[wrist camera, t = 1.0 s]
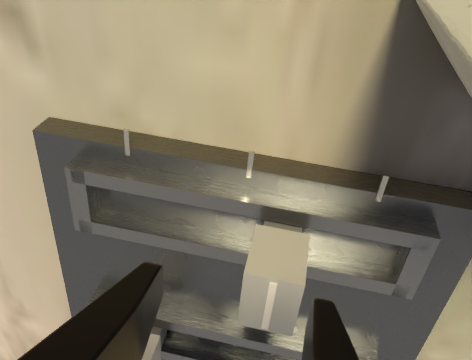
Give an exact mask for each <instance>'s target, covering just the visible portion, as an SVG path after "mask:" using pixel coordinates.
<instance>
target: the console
mask: <svg viewBox="0 0 472 360" xmlns="http://www.w3.org/2000/svg"><path fill="white" fill-rule="evenodd" d="M33 135H34V139H35V144H36V149H37V154H38V159H39V163H40V168H41V173H42V178H43V182H44V187H45V192H46V197H47V202H48V206H49V211H50V216H51V221H52V225H53V230H54V235H55V240H56V245H57V249H58V254H59V259H60V264H61V268H62V273H63V278H64V283H65V288H66V292H67V297H68V302H69V307H70V311H71V316H72V317H73V316H75V315H76V314H77V313H78V312H80V311H81V310H82V309H84V308H85V307H86V306H87V305H89V304H90V303H91V302H93V301H94V300H95V299H96V298H98V297H99V296H100V295H102V294H103V293H104V292H106V291H107V290H108V289H109V288H111V287H112V286H113V285H115V284H116V283H117V282H118V281H120V280H121V279H122V278H124V277H125V276H126V275H127V274H129V273H130V272H131V271H133V270H134V269H135V268H136V267H138V266H139V265H140V264H142V263H143V262H152V263H157V264H160V265H162V267H163V281H164V291H163V297H162V300H161V303H160V306H159V309H158V313H157V316H156V319H155V322H154V325H153V326H154V327H158V328H162V329H167V336H166V338H165V341H164V343H163V346H162V349H161V360H302V352H303V344H304V336H305V328H306V323H307V319H308V316H309V312H310V309H311V305H312V302H313V299H314V298H321V299H326V300H330V301H332V302H333V303H334V304H335V306H336V308H337V310H338V313H339V315H340V317H341V319H342V322H343V324H344V326H345V328H346V331H347V333H348V335H349V337H350V340H351V342H352V344H353V346H354V348H355V351H356V353H357V355H358V357H359V360H415V359H416V357H417V356H418V354H419V352H420V350H421V348H422V347H423V345H424V343H425V341H426V339H427V338H428V336H429V334H430V332H431V330H432V329H433V327H434V325H435V323H436V321H437V319H438V318H439V316H440V314H441V312H442V310H443V309H444V307H445V305H446V303H447V301H448V300H449V298H450V296H451V294H452V292H453V291H454V289H455V287H456V285H457V283H458V282H459V280H460V278H461V276H462V274H463V272H464V271H465V269H466V267H467V265H468V263H469V262H470V260H471V258H472V192H469V191H463V190H458V189H452V188H446V187H441V186H435V185H429V184H424V183H418V182H412V181H407V180H401V179H395V178H390V177H389V176H388V175H383V176H378V175H373V174H367V173H361V172H356V171H350V170H345V169H339V168H333V167H328V166H322V165H316V164H311V163H305V162H299V161H294V160H288V159H282V158H277V157H271V156H265V155H260V154H254V152H252V151H249V153H248V152H243V151H237V150H232V149H226V148H220V147H215V146H209V145H203V144H198V143H192V142H186V141H181V140H175V139H169V138H164V137H158V136H152V135H147V134H141V133H135V132H130V131H129V130H128V129H124V130H118V129H113V128H107V127H102V126H96V125H90V124H85V123H79V122H73V121H68V120H62V119H56V118H51V117H49V118H47V119H46V120H45V121H44V122H42V123H41V124H40V125H39V126H37V127H36V128H35V129H34V130H33ZM265 220H269V221H274V222H280V223H285V224H290V225H295V226H300V227H302V233H304V234H309V235H310V239H309V250H308V261H307V272H306V283H305V289H304V292H303V296H302V300H301V304H300V308H299V312H298V316H297V319H296V323H295V327H294V331H293V335H292V337H291V336H287V335H282V334H278V333H273V332H269V331H264V330H260V329H255V328H251V327H246V326H242V325H237V319H238V312H239V304H240V297H241V290H242V282H243V275H244V270H245V266H246V262H247V258H248V254H249V250H250V246H251V242H252V238H253V234H254V230H255V226H256V224H258V225H264V221H265Z"/></svg>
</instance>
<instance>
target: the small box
mask: <svg viewBox="0 0 472 360" xmlns="http://www.w3.org/2000/svg"><path fill="white" fill-rule="evenodd" d="M416 2H417V4H418V6H419V8H420V9H421V11H422V13H423V15H424V17H425V19H426V21H427V22H428V24H429V26H430V28H431V30H432V31H433V33H434V35H435V37H436V39H437V40H438V42H439V44H440V46H441V47H442V49H443V51H444V52H445V54H446V56H447V58H448V59H449V61H450V63H451V65H452V66H453V68H454V70H455V71H456V73H457V75H458V77H459V78H460V80H461V81H462V83H463V85H464V86H465V88H466V90H467V92H468V93H469V95H470V96H471V98H472V0H416Z"/></svg>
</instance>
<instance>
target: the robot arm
mask: <svg viewBox="0 0 472 360" xmlns="http://www.w3.org/2000/svg"><path fill="white" fill-rule="evenodd" d="M163 291H164V281H163V267H162V265H160V264H157V263H152V262H143V263H142V264H140V265H139V266H138V267H136V268H135V269H134V270H133V271H131V272H130V273H129V274H127V275H126V276H125V277H124V278H122V279H121V280H120V281H118V282H117V283H116V284H115V285H113V286H112V287H111V288H109V289H108V290H107V291H106V292H104V293H103V294H102V295H100V296H99V297H98V298H96V299H95V300H94V301H93V302H91V303H90V304H89V305H87V306H86V307H85V308H84V309H82V310H81V311H80V312H78V313H77V314H76V315H75V316H73V317H72V318H71V319H69V320H68V321H67V322H65V323H64V324H63V325H62V326H60V327H59V328H58V329H56V330H55V331H54V332H53V333H51V334H50V335H49V336H47V337H46V338H45V339H44V340H42V341H41V342H40V343H38V344H37V345H36V346H34V347H33V348H32V349H31V350H29V351H28V352H27V353H25V354H24V355H23V356H22V357H20V358H19V359H18V360H142V358H143V355H144V352H145V349H146V346H147V343H148V340H149V337H150V334H151V331H152V328H153V325H154V322H155V319H156V316H157V313H158V309H159V306H160V303H161V300H162V297H163ZM302 360H359V357H358V355H357V353H356V351H355V348H354V346H353V344H352V342H351V340H350V337H349V335H348V333H347V331H346V328H345V326H344V324H343V322H342V319H341V317H340V315H339V313H338V310H337V308H336V306H335V304H334V303H333V302H332V301H330V300H326V299H321V298H314V299H313V302H312V305H311V309H310V312H309V316H308V319H307V323H306V328H305V336H304V344H303V352H302Z"/></svg>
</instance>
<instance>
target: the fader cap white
mask: <svg viewBox="0 0 472 360" xmlns="http://www.w3.org/2000/svg"><path fill="white" fill-rule="evenodd" d="M166 336H167V329H162V328H158V327H154V326H153V328H152V331H151V334H150V337H149V340H148V343H147V346H146V349H145V352H144V355H143V358H142V360H161V349H162V346H163V343H164V341H165V338H166Z"/></svg>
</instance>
